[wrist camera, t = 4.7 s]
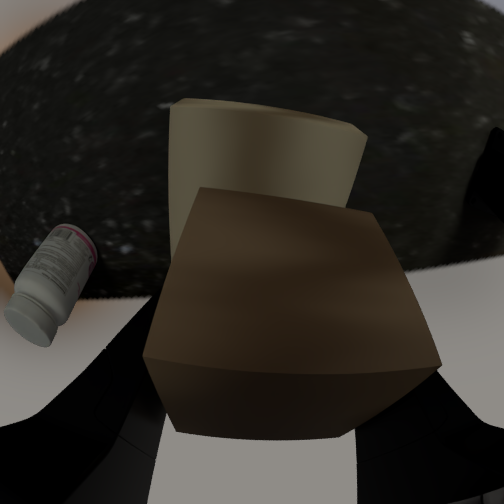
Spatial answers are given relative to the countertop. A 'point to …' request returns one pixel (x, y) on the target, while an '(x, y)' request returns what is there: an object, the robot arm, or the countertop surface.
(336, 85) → the countertop surface
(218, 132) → the maple block
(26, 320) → the pill bottle
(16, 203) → the countertop surface
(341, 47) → the countertop surface
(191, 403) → the walnut cube
